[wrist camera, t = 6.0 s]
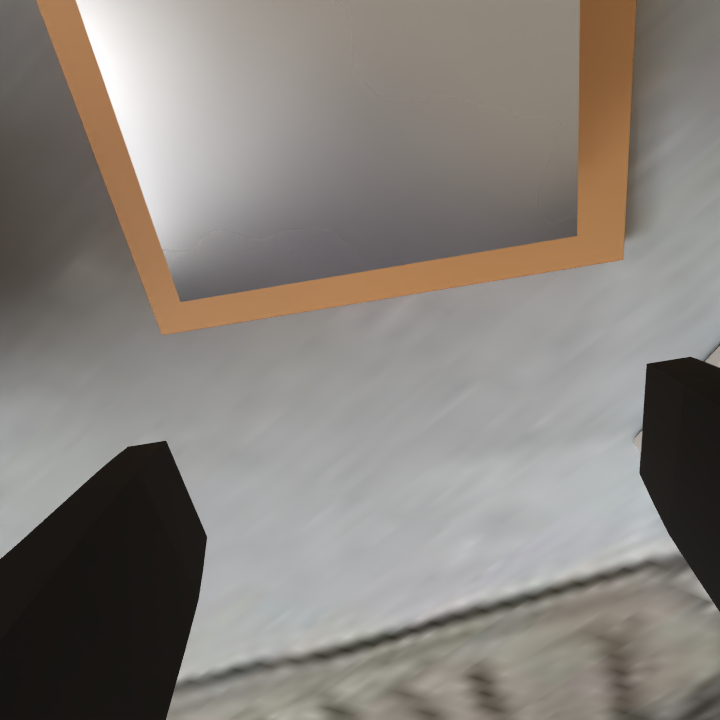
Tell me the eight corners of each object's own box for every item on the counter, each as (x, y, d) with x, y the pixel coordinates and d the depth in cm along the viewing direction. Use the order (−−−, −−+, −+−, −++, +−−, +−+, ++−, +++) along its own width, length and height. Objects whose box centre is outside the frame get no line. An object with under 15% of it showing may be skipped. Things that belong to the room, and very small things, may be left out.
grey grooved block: (251, 188, 11) (175, 310, 6) (179, -93, 9) (-19, -237, 4) (478, 147, 10) (585, 242, 6) (458, -152, 8) (597, -383, 4)
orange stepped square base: (171, 318, 19) (78, 470, 13) (-42, -274, 12) (-489, -625, 6) (607, 246, 18) (755, 369, 12) (633, -437, 11) (1022, -1078, 5)
